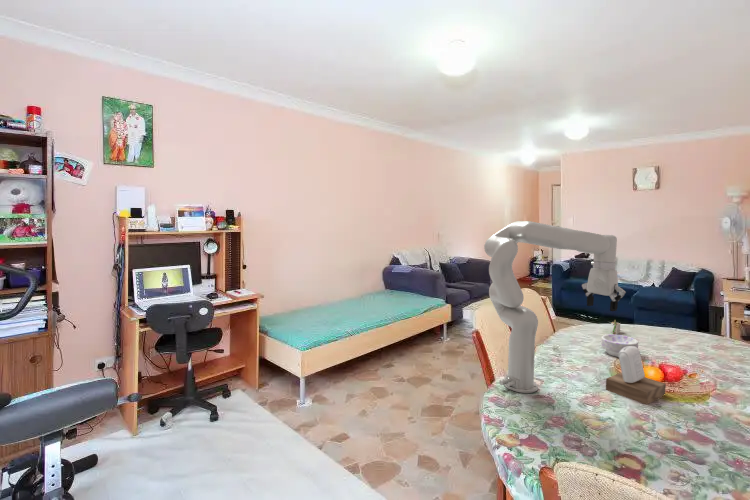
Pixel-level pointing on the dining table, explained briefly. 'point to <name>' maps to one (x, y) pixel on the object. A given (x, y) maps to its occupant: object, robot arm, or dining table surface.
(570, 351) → the dining table surface
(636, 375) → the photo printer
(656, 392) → the walnut block
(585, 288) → the robot arm
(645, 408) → the dining table surface
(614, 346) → the paper bowls
